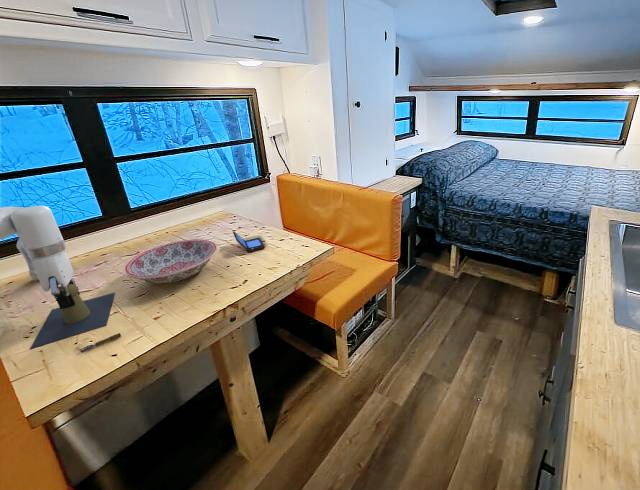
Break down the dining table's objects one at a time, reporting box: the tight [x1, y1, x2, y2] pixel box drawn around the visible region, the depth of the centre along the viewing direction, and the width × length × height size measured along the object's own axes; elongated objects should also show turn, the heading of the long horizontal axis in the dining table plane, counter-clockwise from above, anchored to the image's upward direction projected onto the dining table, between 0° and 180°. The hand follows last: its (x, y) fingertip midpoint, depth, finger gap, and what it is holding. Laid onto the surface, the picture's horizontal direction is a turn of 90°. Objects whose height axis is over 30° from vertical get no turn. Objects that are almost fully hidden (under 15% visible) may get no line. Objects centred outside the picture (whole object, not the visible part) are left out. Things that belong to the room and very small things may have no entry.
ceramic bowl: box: [124, 238, 218, 284], centre depth 116 cm, size 29×29×8 cm
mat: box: [29, 292, 116, 350], centre depth 95 cm, size 16×20×1 cm
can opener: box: [77, 332, 122, 353], centre depth 84 cm, size 9×2×1 cm, turn 126°
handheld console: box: [232, 230, 266, 254], centre depth 137 cm, size 12×11×7 cm
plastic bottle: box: [16, 233, 39, 281], centre depth 114 cm, size 6×7×20 cm
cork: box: [59, 284, 90, 324], centre depth 93 cm, size 6×6×11 cm
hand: (70, 301), depth 93 cm, fingers closed on cork, 5 cm apart
